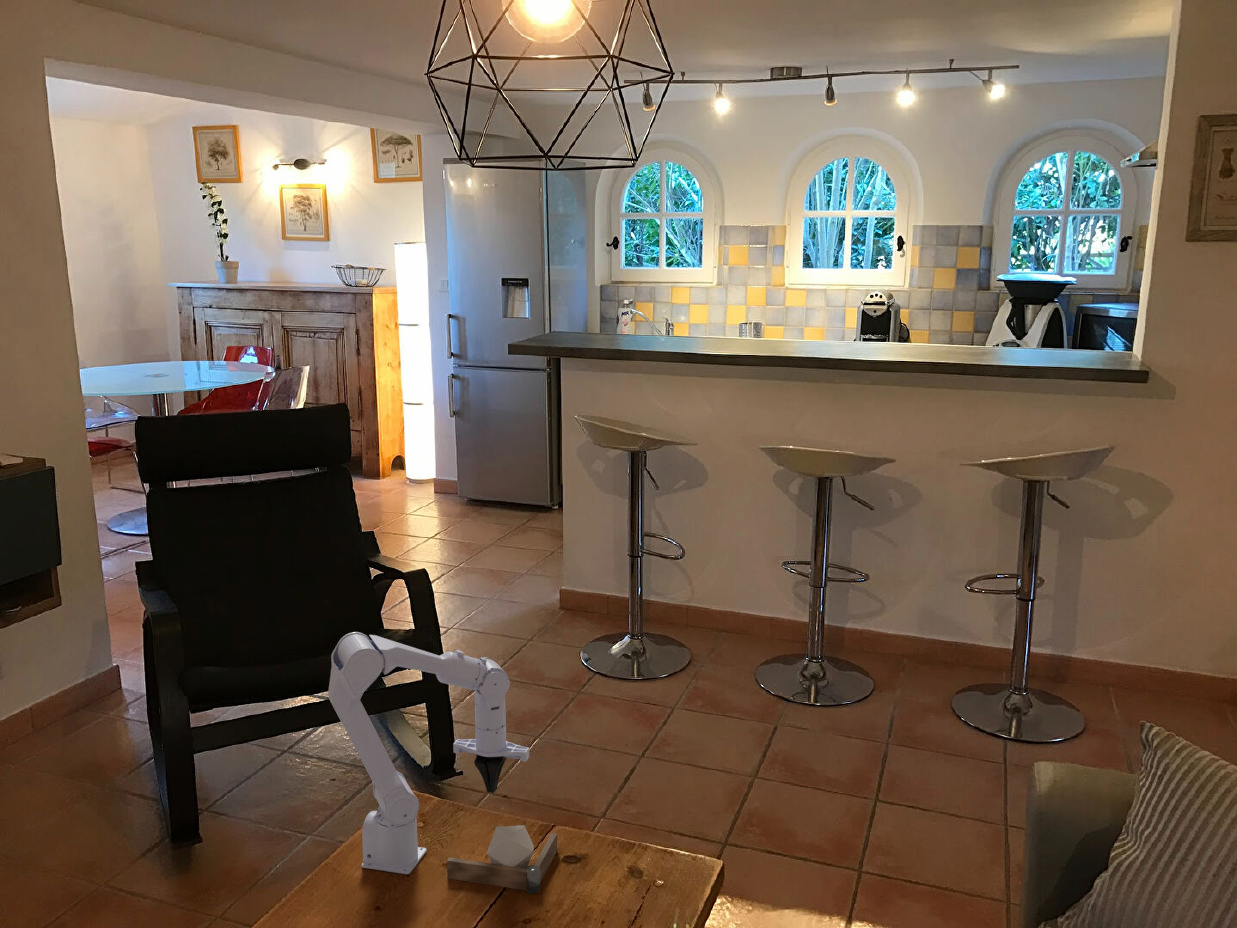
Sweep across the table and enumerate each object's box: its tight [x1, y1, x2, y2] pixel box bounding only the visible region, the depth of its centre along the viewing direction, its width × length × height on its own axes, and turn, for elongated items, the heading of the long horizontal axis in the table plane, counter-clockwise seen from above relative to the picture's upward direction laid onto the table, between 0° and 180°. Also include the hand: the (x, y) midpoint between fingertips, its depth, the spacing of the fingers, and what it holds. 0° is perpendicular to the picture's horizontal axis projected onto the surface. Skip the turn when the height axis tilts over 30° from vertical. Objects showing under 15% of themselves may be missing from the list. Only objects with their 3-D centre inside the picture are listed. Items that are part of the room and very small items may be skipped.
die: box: [487, 824, 534, 869], centre depth 181 cm, size 8×9×10 cm
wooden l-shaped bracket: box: [446, 832, 558, 895], centre depth 183 cm, size 17×14×4 cm
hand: (492, 790), depth 191 cm, fingers closed
